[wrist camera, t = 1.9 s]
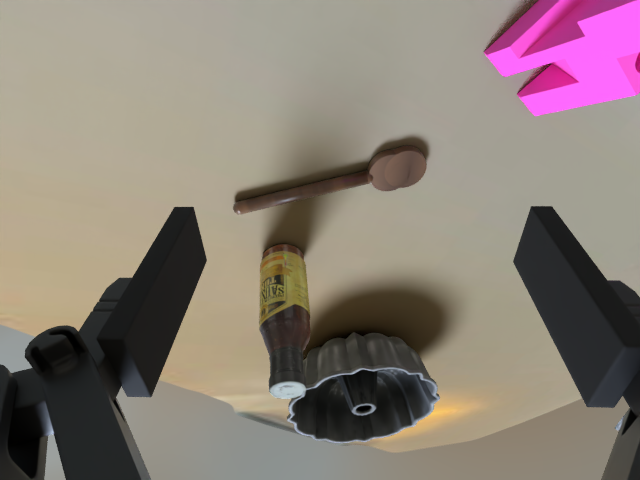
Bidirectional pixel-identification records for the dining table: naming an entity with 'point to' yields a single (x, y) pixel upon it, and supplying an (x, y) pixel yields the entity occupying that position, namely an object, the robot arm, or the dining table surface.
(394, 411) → the bundt pan
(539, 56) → the bracket
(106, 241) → the dining table surface
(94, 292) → the dining table surface
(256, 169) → the dining table surface
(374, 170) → the wooden spoon
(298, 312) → the sauce bottle
